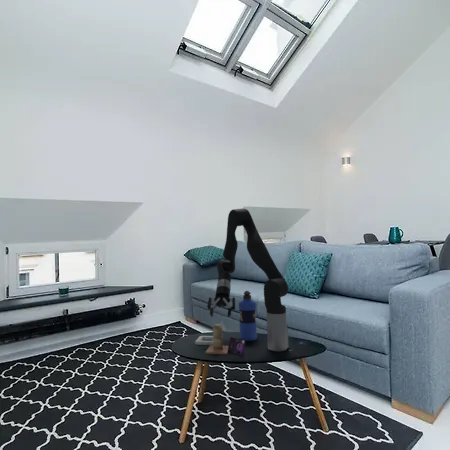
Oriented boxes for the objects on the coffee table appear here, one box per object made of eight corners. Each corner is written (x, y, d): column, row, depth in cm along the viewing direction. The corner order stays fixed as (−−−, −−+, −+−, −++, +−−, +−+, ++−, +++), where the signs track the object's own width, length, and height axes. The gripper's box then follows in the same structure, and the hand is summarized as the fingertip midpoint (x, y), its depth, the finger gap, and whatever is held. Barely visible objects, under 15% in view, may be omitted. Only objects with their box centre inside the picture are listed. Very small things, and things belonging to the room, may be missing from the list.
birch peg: (218, 346, 163) (218, 323, 164) (224, 348, 160) (224, 325, 160) (211, 348, 160) (211, 325, 161) (217, 350, 157) (216, 327, 157)
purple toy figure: (229, 336, 159) (244, 340, 153) (236, 338, 163) (250, 341, 157) (226, 351, 157) (241, 355, 151) (233, 352, 161) (248, 356, 155)
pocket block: (200, 338, 180) (200, 335, 181) (219, 339, 179) (219, 336, 179) (195, 344, 170) (195, 341, 170) (215, 345, 168) (215, 342, 168)
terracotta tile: (210, 346, 166) (210, 345, 166) (230, 347, 164) (230, 345, 164) (205, 353, 156) (205, 351, 156) (226, 354, 154) (226, 352, 154)
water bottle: (256, 335, 183) (254, 289, 184) (258, 340, 174) (256, 292, 175) (239, 336, 183) (237, 290, 184) (240, 341, 174) (238, 292, 175)
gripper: (209, 285, 178) (205, 311, 166) (235, 285, 176) (233, 311, 164) (211, 293, 183) (207, 320, 171) (237, 293, 181) (235, 320, 169)
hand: (220, 315), depth 168 cm, fingers open, 8 cm apart
